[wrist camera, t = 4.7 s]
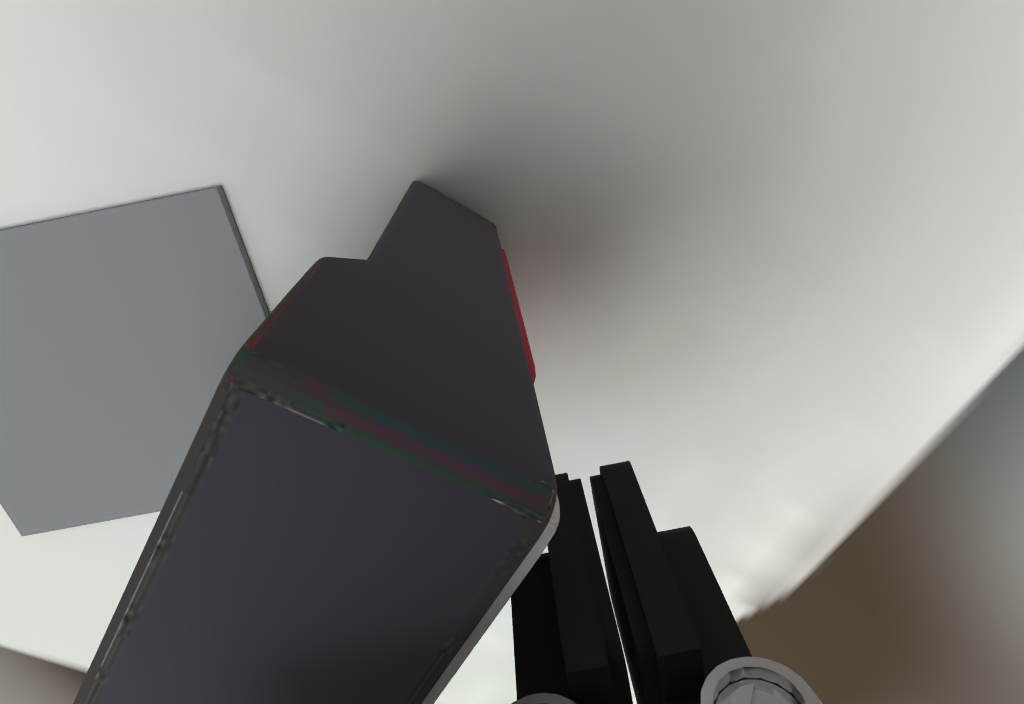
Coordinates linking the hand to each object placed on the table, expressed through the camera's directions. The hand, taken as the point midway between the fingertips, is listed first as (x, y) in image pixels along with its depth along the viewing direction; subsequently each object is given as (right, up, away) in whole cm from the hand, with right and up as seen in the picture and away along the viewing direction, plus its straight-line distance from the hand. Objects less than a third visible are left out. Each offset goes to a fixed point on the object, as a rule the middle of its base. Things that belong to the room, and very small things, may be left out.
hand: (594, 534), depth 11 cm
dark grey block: (-6, +4, +10) cm, 12 cm away
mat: (-15, +2, +10) cm, 19 cm away
